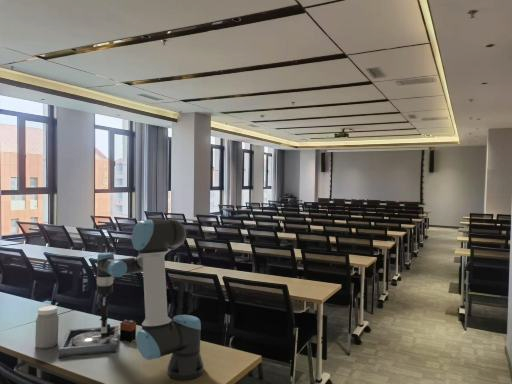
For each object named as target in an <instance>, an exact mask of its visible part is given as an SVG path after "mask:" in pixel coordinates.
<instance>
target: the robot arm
mask: <svg viewBox="0 0 512 384" xmlns="http://www.w3.org/2000/svg"><path fill="white" fill-rule="evenodd" d="M186 238H187V231H186V228H185V226H184V224H183V223H182V222H180V221H179V220H176V219H172V218H171V219H170V218H169V219H168V218H167V219H146V220H141V221H139V222H137V223H136V224H135V226H134V228H133V230H132V234H131V244H132V247H133V249H135V250H137V251H138V255H137V256H136V257H135V256H134V257H128V258H117V259H115V255H114V253H113V252H100V253H98V254H97V258H96V259H97V260H96V265H97V266H96V293H97V294H98V295H100V297H99V299H100V300H99V301H100V307H101V309H100V310H101V311H100V312H101V315H100V316H101V317H100V318H99V321H100V323H101V324H100V327H101V333H107V324H108V319H109V318H110V317H109V316H108V315H109V314H108V310H109V300H110V295H108V294H111V293H113V292H114V280H115V278H121V277H123V276H124V275H129V274H136V273H143V292H144V314H145V318H144V320H143V321H142V323H141V329H139V330H138V331H137V332H136V341H135V342H136V347H137V350H138V352H139V353H140V355H141V357H142V358H143V359H145V360H148V361H150V360H155V359H160V358H161V357H164V356H167V355H170V354H171V356H170V359H169V361H168V365H167V370H166V373H167V376H168V377H170V378H171V379H173V380H178V381H190V380H194V379H197V378H199V377H201V376H202V375H203V374H204V368H205V367H204V361H203V359H202V355H201V333H202V331H201V330H202V326H201V325H202V324H201V319H200V318H198V317H197V316H194V315H191V314H190V315H189V314H178V315H174V317H173V319H172V318H170V317H169V316H168V301H167V300H168V299H167V297H168V296H167V295H168V294H167V280H166V278H167V277H166V261H165V256H166V254H168V253H169V252H170V251H171V250H176V249H178V248H179V247H180V246H182V245H183V244H184V242H185V240H186Z"/></svg>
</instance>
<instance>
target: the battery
mask: <svg viewBox="0 0 512 384" xmlns="http://www.w3.org/2000/svg"><path fill="white" fill-rule="evenodd" d="M119 330H120V331H119V341H122V342H127V343H132V342H134V341H135V340H136V336H137V321H134V320H133V319H130V320H128V319H123V321H121V322H120V326H119Z"/></svg>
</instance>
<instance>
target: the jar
mask: <svg viewBox="0 0 512 384" xmlns="http://www.w3.org/2000/svg"><path fill="white" fill-rule="evenodd" d="M59 317H60V316H59V315H58V306H57V305H44V306H40V307H39V308H38V309H37V317H36V318H35V338H34V340H35V343H34V344H35V345H34V346H35V347H36V348H37V349H40V350H45V349H51V348H54V347H55V346H57V344H58V343H59V321H60V320H59Z"/></svg>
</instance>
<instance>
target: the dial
mask: <svg viewBox="0 0 512 384" xmlns="http://www.w3.org/2000/svg"><path fill="white" fill-rule="evenodd" d="M110 327H111V324H110V323H107V333H101V332H97V331H96V332H87V333H82V334H79V335H77V336H75V337H74V338H73V339H72V347H74V346H85V345H97V344H107V343H109V341H110Z"/></svg>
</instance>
